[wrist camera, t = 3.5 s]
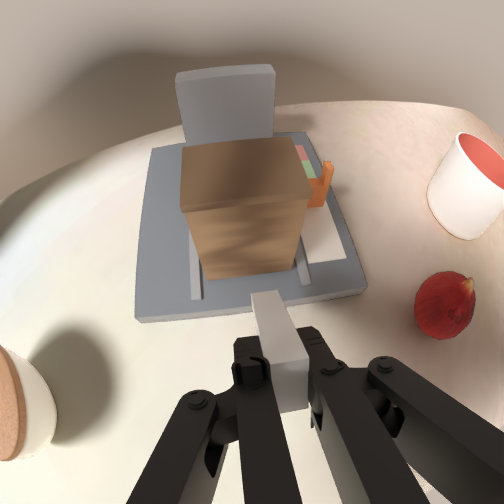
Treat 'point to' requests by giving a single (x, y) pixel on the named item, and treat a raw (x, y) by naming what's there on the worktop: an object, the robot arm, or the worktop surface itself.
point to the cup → (468, 187)
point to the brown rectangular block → (244, 204)
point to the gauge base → (177, 230)
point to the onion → (445, 304)
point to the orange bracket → (321, 186)
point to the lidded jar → (24, 409)
